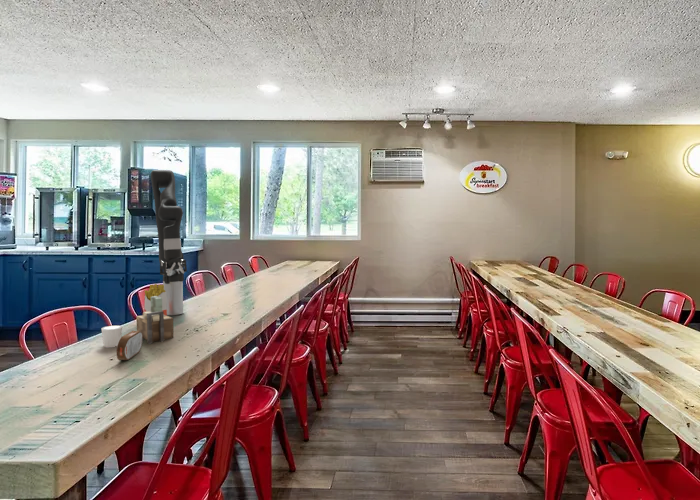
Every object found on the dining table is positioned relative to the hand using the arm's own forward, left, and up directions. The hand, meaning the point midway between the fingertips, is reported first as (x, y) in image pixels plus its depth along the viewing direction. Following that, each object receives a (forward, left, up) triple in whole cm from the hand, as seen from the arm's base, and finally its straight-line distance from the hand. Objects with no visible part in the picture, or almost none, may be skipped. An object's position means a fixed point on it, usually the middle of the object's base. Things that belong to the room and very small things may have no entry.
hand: (174, 282), depth 189 cm
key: (+22, -20, -10) cm, 31 cm away
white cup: (+18, -33, -19) cm, 42 cm away
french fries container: (-6, -7, -19) cm, 21 cm away
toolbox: (+19, -17, -19) cm, 32 cm away
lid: (+17, -17, -12) cm, 27 cm away
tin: (+37, -33, -19) cm, 53 cm away
